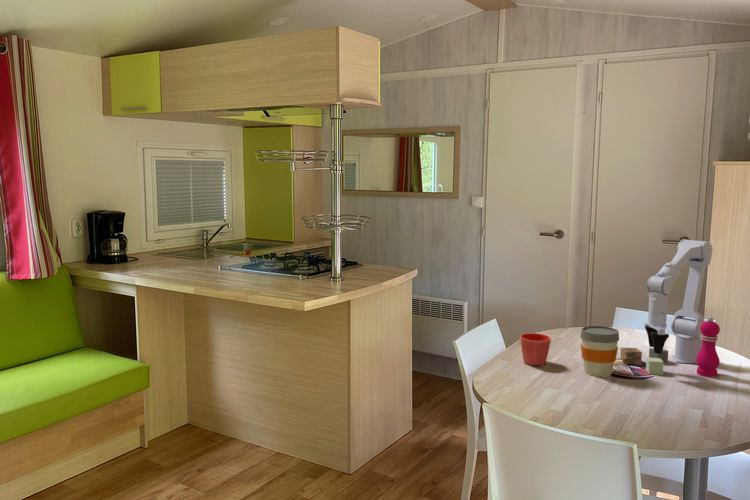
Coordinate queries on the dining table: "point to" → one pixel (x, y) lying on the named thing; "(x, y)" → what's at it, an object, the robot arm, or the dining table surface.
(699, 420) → the dining table surface
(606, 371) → the reusable coffee cup
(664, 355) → the charcoal block
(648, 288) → the robot arm
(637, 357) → the top slab
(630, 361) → the base slab
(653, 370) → the green cube
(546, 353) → the flower pot
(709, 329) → the pepper mill
